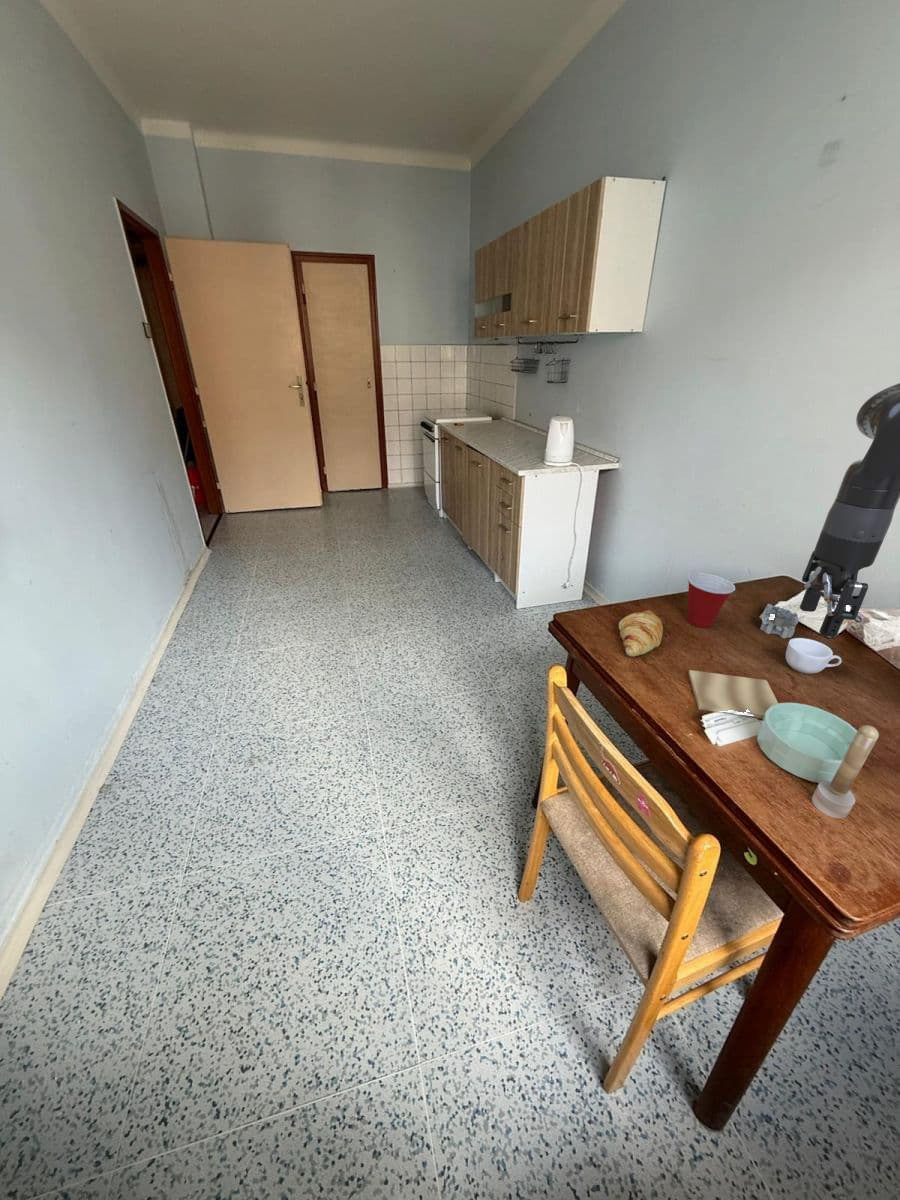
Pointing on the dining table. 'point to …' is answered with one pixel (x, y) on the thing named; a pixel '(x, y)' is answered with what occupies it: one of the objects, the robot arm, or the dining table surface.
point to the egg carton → (779, 621)
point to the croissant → (641, 632)
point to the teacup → (809, 655)
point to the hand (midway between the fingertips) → (816, 622)
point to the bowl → (805, 740)
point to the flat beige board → (731, 693)
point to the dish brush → (845, 776)
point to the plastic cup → (706, 598)
